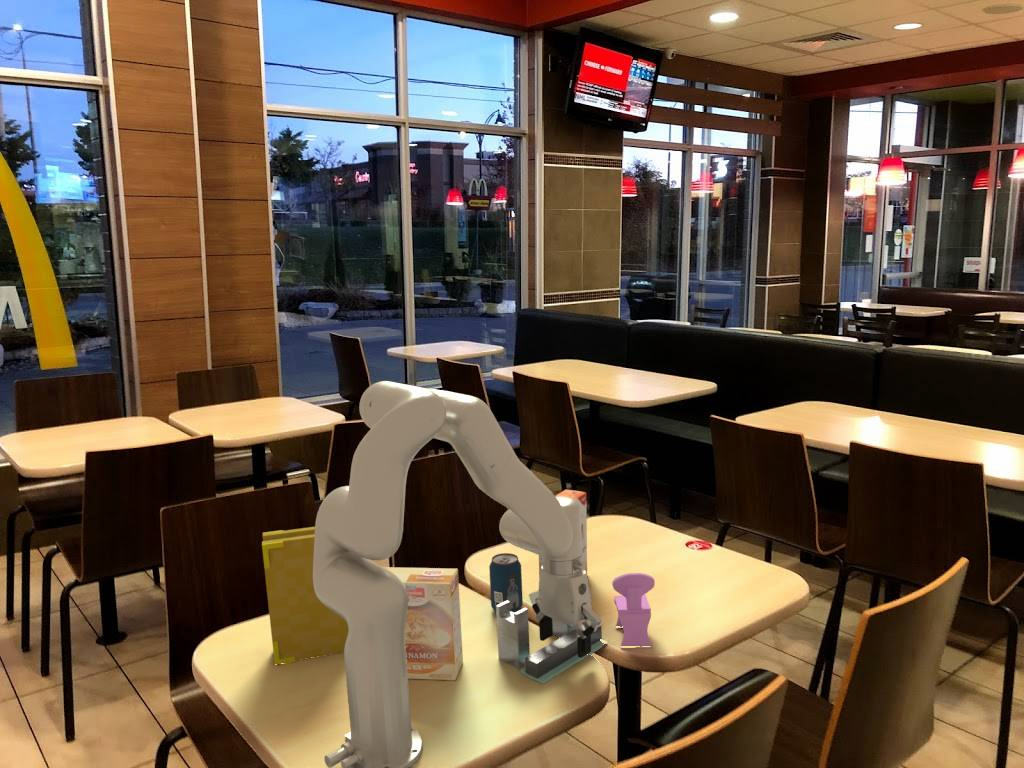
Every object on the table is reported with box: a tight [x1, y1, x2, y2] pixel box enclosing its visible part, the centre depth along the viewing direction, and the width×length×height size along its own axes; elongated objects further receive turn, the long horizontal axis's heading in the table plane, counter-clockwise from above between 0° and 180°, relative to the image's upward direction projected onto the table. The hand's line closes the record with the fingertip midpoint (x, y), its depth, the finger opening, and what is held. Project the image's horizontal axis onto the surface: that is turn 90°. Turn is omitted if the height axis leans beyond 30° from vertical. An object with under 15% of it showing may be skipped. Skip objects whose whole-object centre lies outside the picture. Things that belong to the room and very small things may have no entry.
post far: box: [552, 618, 575, 638], centre depth 164 cm, size 3×6×11 cm, turn 45°
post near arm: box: [495, 600, 531, 669], centre depth 154 cm, size 3×6×11 cm, turn 45°
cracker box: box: [538, 489, 588, 577], centre depth 186 cm, size 14×6×21 cm, turn 148°
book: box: [261, 526, 348, 665], centre depth 160 cm, size 17×7×25 cm, turn 105°
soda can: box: [489, 552, 524, 614], centre depth 175 cm, size 7×7×12 cm
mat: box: [520, 641, 604, 685], centre depth 155 cm, size 19×6×1 cm, turn 135°
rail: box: [524, 620, 603, 679], centre depth 154 cm, size 19×3×3 cm, turn 135°
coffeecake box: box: [383, 566, 464, 681], centre depth 151 cm, size 15×7×20 cm, turn 82°
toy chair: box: [611, 572, 656, 647], centre depth 160 cm, size 8×9×15 cm
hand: (565, 646), depth 154 cm, fingers open, 9 cm apart
